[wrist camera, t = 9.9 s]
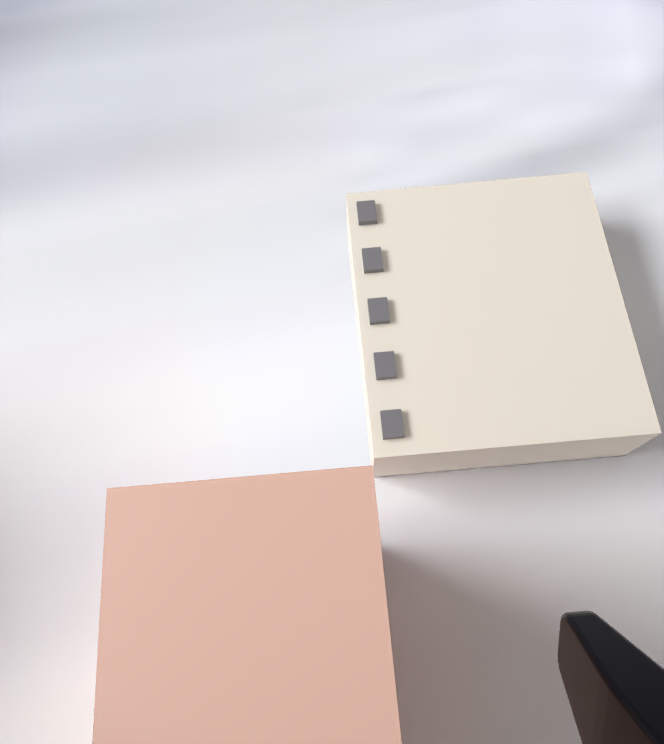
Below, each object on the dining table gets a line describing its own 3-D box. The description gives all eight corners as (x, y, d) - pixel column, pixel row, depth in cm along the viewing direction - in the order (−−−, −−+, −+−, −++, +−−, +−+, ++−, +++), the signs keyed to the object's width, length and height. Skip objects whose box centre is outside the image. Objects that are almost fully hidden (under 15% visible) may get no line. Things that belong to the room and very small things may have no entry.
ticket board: (625, 454, 19) (664, 431, 17) (372, 477, 20) (374, 456, 17) (563, 217, 23) (588, 167, 20) (347, 236, 23) (345, 189, 20)
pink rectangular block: (397, 869, 16) (454, 1239, 6) (239, 881, 16) (62, 1269, 6) (366, 542, 19) (372, 464, 9) (233, 553, 19) (106, 488, 9)
